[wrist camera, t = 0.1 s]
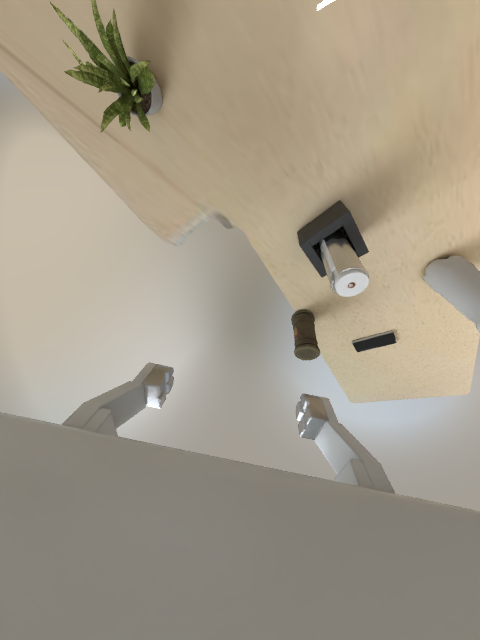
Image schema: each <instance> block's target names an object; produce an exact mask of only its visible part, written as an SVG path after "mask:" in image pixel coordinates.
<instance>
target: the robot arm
mask: <svg viewBox="0 0 480 640" xmlns="http://www.w3.org/2000/svg"><path fill="white" fill-rule="evenodd" d="M332 1H334V0H325V1H323V2H322V3H320V4H318V6H317V11H318V10H319V9H321V8H323V7H324V6H326V5H327V4H329V3H331V2H332ZM173 372H174V370H173V368H172V367H168V366H163V365H159V364H154V363H148V364H147V365H146V366H145V367H144V368H143V369H142V370H141V372H140V373H139V374H138V375H137V376H136V378H135V379H134V380H133V381H132V382H131V381H129V382H127V383H125V384H123V385H121V386H118V387H116V388H114V389H112V390H110V391H108V392H106V393H104V394H102V395H100V396H97V397H95V398H93V399H91V400H89V401H87V402H85V403H83V404H82V405H81V406H80V407H79V408H78V409H77V410H76V411H75V412H74V413H73V414H72V415H71V416H70V417H69V418H68V419H67V420H66V421H65V422H64V423H63V424H62V425H59V424H55V423H50V422H45V421H40V420H36V419H30V418H25V417H21V416H16V415H11V414H7V413H2V412H0V640H480V512H479V511H475V510H472V509H467V508H462V507H457V506H453V505H448V504H442V503H438V502H433V501H428V500H423V499H418V498H413V497H409V496H404V495H399V494H395V492H394V490H393V488H392V486H391V484H390V482H389V480H388V478H387V476H386V474H385V472H384V470H383V468H382V466H381V464H380V463H379V462H378V461H377V460H376V459H375V458H374V457H373V456H372V455H371V454H370V453H369V452H368V451H367V450H366V449H365V448H364V447H363V446H362V445H361V444H360V443H359V441H358V440H356V439H355V437H354V436H353V435H352V434H351V433H349V431H348V430H347V429H346V428H345V427H344V426H343V425H342V424H339V423H338V420H337V418H336V415H335V413H334V411H333V408H332V406H331V403H330V401H329V399H328V398H324V397H318V396H314V395H308V394H302V395H301V397H300V399H301V401H300V402H298V404H297V406H296V418H297V419H298V421H299V422H300V423H299V425H298V428H299V433H300V437H303V438H307V439H312V440H315V442H316V444H317V446H318V447H319V449H320V450H321V452H322V453H323V454H324V456H325V458H326V459H327V461H328V462H329V464H330V465H331V467H332V468H333V469H334V471H335V473H336V474H337V476H336V477H335V479H334V480H333V481H331V480H326V479H321V478H317V477H312V476H307V475H301V474H297V473H292V472H287V471H282V470H278V469H273V468H268V467H263V466H258V465H253V464H249V463H244V462H239V461H234V460H229V459H224V458H219V457H215V456H210V455H205V454H200V453H195V452H190V451H185V450H181V449H176V448H170V447H166V446H161V445H156V444H152V443H147V442H142V441H137V440H132V439H127V438H122V437H118V435H117V432H116V428H118V427H119V426H120V425H122V424H123V423H125V422H126V421H127V420H129V419H130V418H132V417H133V416H134V415H136V414H137V413H138V412H140V411H141V410H143V409H144V408H145V407H146V406H150V407H155V408H161V407H162V405H163V403H164V401H165V400H166V394H168V393H169V392H170V390H171V388H172V386H173V380H174V377H173V376H172V374H173Z"/></svg>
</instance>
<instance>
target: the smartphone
mask: <svg viewBox="0 0 480 640" xmlns="http://www.w3.org/2000/svg"><path fill="white" fill-rule="evenodd" d="M394 343H397V341H396V338H395V335H394V332H393V331H388V332H384V333H381V334H377V335H373V336H370V337H366V338H362V339H359V340H355V341H352V344H353V345H354V347H355V349H356V351H357V352H361V351H365V350H369V349H373V348H378V347H382V346H386V345H390V344H394Z"/></svg>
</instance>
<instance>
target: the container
mask: <svg viewBox="0 0 480 640" xmlns="http://www.w3.org/2000/svg"><path fill="white" fill-rule="evenodd" d="M291 320H292V325H293V329H294V338H295V351H294V354H295V356H296V357H297V358H299V359H301V360H312V359H315V358H317V357H318V356H319V355H320V350H319V348H318V346H317V344H318V343H317V340H316V334H315V325H314V315H313V313H312V312H310V311H308V310H300V311H297V312H296V313H294V314H293V316H292V319H291Z"/></svg>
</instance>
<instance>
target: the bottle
mask: <svg viewBox="0 0 480 640" xmlns="http://www.w3.org/2000/svg"><path fill="white" fill-rule="evenodd" d="M423 280H424V281H425V282H426V283H427V284H428V285H429V286H430V287H431V288H432V289H433V290H434V291H435V292H437V293H439V294H440V295H441V296H443V297H444V298H445V299H446V300H447V301H448V302H449V303H451V304H452V305H453V306H454V307H455V308H456V309H457V310H459V311H460V312H461V313H462V314H463V315H464V316H465V317H466V318H468V319H469V320H471V321H472V322H474V323H476V328H477V330H478V331H479V332H480V271H478V269H477V268H476V267H475V266H474V265H473V264H472V263H470V262H468V261H467V260H465V259H464V258H463V257H460V256H456V255H455V256H449V257H448V259H436V260H434V261H433V262H431V263H430V264H429V265H428V266H427V267H426V269H425V275H424V277H423Z"/></svg>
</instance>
